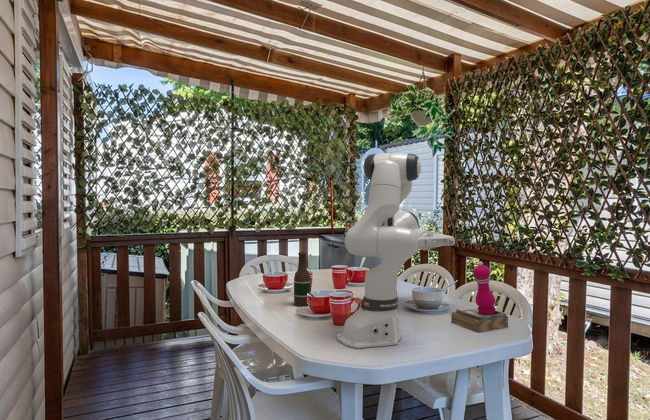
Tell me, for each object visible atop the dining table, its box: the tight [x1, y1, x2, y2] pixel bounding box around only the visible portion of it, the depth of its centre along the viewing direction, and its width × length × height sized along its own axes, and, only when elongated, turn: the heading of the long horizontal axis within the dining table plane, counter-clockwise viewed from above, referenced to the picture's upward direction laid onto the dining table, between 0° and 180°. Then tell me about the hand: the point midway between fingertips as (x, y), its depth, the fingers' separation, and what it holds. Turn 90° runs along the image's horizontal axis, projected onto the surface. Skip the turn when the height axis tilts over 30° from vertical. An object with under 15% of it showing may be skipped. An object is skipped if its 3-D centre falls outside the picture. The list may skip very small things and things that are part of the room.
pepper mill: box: [473, 261, 496, 315], centre depth 168 cm, size 7×7×20 cm
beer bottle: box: [293, 251, 312, 308], centre depth 200 cm, size 8×8×24 cm
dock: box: [450, 307, 509, 333], centre depth 169 cm, size 15×14×5 cm
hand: (444, 242), depth 183 cm, fingers open, 8 cm apart
